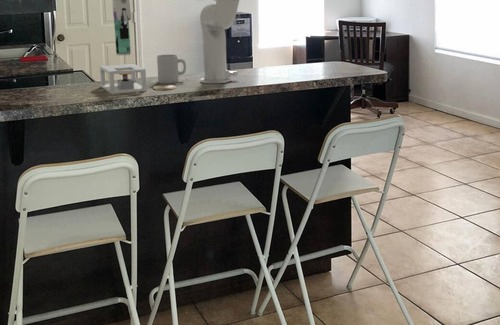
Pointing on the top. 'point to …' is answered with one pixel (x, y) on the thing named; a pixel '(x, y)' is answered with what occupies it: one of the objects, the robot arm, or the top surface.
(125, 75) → the button
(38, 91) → the top surface
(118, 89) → the white open box frame
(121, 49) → the spray can
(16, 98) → the top surface
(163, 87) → the coaster
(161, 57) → the mug
